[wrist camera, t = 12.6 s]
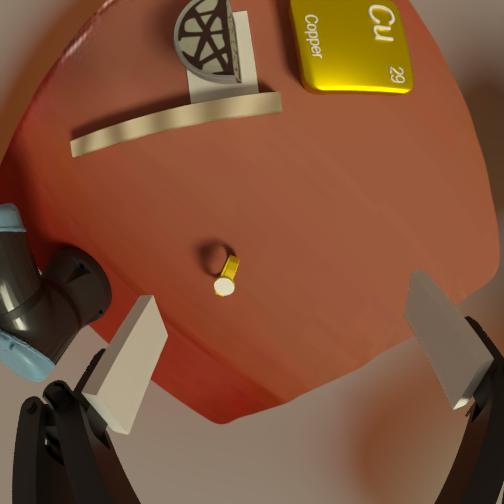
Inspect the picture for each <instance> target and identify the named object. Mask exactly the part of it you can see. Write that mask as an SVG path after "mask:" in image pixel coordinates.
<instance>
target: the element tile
mask: <svg viewBox="0 0 504 504" xmlns="http://www.w3.org/2000/svg"><path fill="white" fill-rule="evenodd" d="M288 13H289V19H290V24H291V29H292V34H293V39H294V45H295V50H296V56H297V62H298V68H299V75H300V81H301V84H302V86H303V87H304V89H305V90H306V91H308V92H309V93H312V94H317V95H326V94H360V95H384V96H396V95H401V94H406V93H409V92H410V91H411V90H412V89H413V86H414V76H413V70H412V64H411V59H410V54H409V49H408V44H407V40H406V35H405V31H404V27H403V24H402V20H401V16H400V13H399V10H398V8H397V7H396V5H395V4H394V3H393V2H391V1H390V0H290V5H289V10H288Z"/></svg>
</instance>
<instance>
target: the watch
mask: <svg viewBox="0 0 504 504" xmlns="http://www.w3.org/2000/svg"><path fill="white" fill-rule="evenodd" d="M238 264H239V258H237V257H235V256H233V255H230V256H229V258H228V260H227V262H226V264H225V266H224V269H223V271H222V273H221V275H220V277H218V278H217V279H216V280H215V283H214V289H215V294H218V295H220V296H225V295H229V294H231V293H232V292H233V290H234V287H235V284H234V281H233V278H234V275H235V273H236V270H237V267H238Z"/></svg>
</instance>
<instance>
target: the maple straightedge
mask: <svg viewBox="0 0 504 504" xmlns="http://www.w3.org/2000/svg"><path fill="white" fill-rule="evenodd" d="M281 112H282V104H281V96H280V92H269V93H259V94H251V95H243V96H236V97H229V98H223V99H217V100H211V101H206V102H200V103H195V104H191V105H186V106H181V107H177V108H173V109H169V110H164V111H161V112H157V113H153V114H149V115H146V116H142V117H139V118H135V119H132V120H129V121H125V122H122V123H119V124H116V125H113V126H110V127H107V128H104V129H101V130H99V131H96V132H93V133H91V134H88V135H85V136H83V137H80V138H78V139H75V140H73V141H70V144H71V150H72V155H73V157H76V156H80V155H84V154H88V153H90V152H93V151H96V150H99V149H102V148H106V147H109V146H112V145H115V144H119V143H122V142H125V141H129V140H132V139H136V138H140V137H143V136H147V135H151V134H155V133H159V132H164V131H168V130H172V129H177V128H182V127H186V126H191V125H197V124H202V123H207V122H213V121H219V120H226V119H232V118H239V117H247V116H255V115H264V114H274V113H281Z"/></svg>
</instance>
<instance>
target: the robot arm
mask: <svg viewBox="0 0 504 504" xmlns="http://www.w3.org/2000/svg"><path fill="white" fill-rule="evenodd" d="M111 299H112V293H111V287H110V284H109V281H108V279H107V276H106V275H105V273H104V271H103V270H102V268H101V267H100V266H99V264H98V263H97V262H96V261H95V260H94V259H93V258H92V257H91V256H89V255H88V254H87V253H85V252H83V251H81V250H79V249H76V248H71V247H68V248H63V249H61V250H59V251H58V252H57V253H55V254H54V255H53V256H52V257H51V258H50V259H49V261H48V263H47V265H46V266H45V268H44V270H43V272H42V274H41V276H40V273H39V270H38V268H37V265H36V262H35V260H34V257H33V254H32V251H31V248H30V244H29V241H28V238H27V234H26V228H24V225H23V222H22V219H21V216H20V213H19V210H18V208H17V207H16V206H15V205H14V204H12V203H5V204H2V205H0V360H1V361H2V362H3V363H4V364H6V366H8V367H9V368H10V369H11V370H12V371H14V372H15V373H17V374H18V375H20V376H21V377H23V378H25V379H27V380H29V381H32V382H41V381H43V380H44V379H45V378H46V377H47V375H48V374H49V373H50V372H51V370H52V369H54V368H55V365H56V364H57V362H58V361H59V359H60V358H61V356H62V355H63V354H64V352H65V351H66V349H67V348H68V346H69V345H70V343H71V342H72V341H73V339H74V338H75V336H76V335H77V334H78V332H79V331H80V330H81V328H83V327H85V326H87V325H89V324H91V323H92V322H94V321H96V320H98V319H99V318H101V317H102V316H103V315H104V313H105V312H106V311H107V309H108V308H109V306H110V304H111ZM404 317H405V318H406V320H407V322H408V323H409V325H410V327H411V329H412V330H413V332H414V334H415V336H416V337H417V339H418V341H419V343H420V345H421V346H422V348H423V350H424V352H425V353H426V356H427V357H428V360H429V361H430V363H431V365H432V367H433V369H434V371H435V373H436V375H437V377H438V379H439V381H440V383H441V385H442V387H443V389H444V392H445V394H446V396H447V398H448V400H449V402H450V405H451V407H452V409H456V408H458V407H461V406H463V405H466V404H467V403H468V401H469V400H470V398H471V397H472V395H473V397H474V399H475V402H474V404H473V405H472V406H471V408H470V409H469V411H468V412H467V414H466V415H465V416H466V417H467V416H468V415H469V414H470V417H469V420H468V423H467V427H466V430H465V433H464V436H463V439H462V442H461V445H460V448H459V450H458V453H457V456H456V458H455V461H454V463H453V466H452V468H451V470H450V473H449V475H448V477H447V480H446V482H445V484H444V486H443V488H442V490H441V492H440V494H439V496H438V498H437V500H436V502H435V504H496V502H497V499H498V496H499V493H500V491H501V488H502V485H503V481H504V358H503V356H502V355H501V353H500V352H499V351H498V349H497V348H496V346H495V345H494V344H493V342H492V341H491V339H490V338H489V337H487V334H486V333H485V331H483V329H482V328H481V326H480V325H479V324H478V322H476V321H475V320H473V319H472V318H471V317H469V316H467V317H463V316H462V314H461V313H460V312H459V310H458V309H457V308H456V307H455V305H454V304H453V303H452V302H451V300H450V299H449V298H448V297H447V296H446V294H445V293H444V292H443V291H442V290H441V288H440V287H439V286H438V285H437V284H436V283H435V282H434V280H433V279H432V278H431V277H430V276H429V275H428V274H427V273H426V271H425V270H418V271H412V272H411V279H410V285H409V291H408V296H407V301H406V306H405V311H404ZM167 337H168V334H167V332H166V329H165V327H164V324H163V321H162V319H161V316H160V313H159V311H158V308H157V305H156V302H155V299H154V296H153V295H145V296H140V297H139V299H138V300H137V302H136V303H135V305H134V306H133V308H132V309H131V311H130V312H129V314H128V315H127V317H126V318H125V320H124V322H123V323H122V325H121V326H120V328H119V329H118V331H117V333H116V334H115V336H114V337H113V339H112V341H111V342H110V344H109V346H108V347H107V349H101V350H100V351H99V352H98V353H97V354H96V355H95V356H94V357H93V359H92V360H91V362H90V365H88V367H87V369H86V371H85V372H84V374H83V375H82V377H81V379H80V380H79V382H78V384H77V386H76V387H75V389H74V391H72V390H71V389H70V387H69V386H68V385H67V384H66V382H64V381H61V380H57V381H54V382H52V383H50V384H49V385H48V386H47V387H46V388H45V390H44V392H43V398H44V399H45V401H46V402H47V403H48V404H44V403H43V402H42V401H41V400H40V398H38V397H36V396H32V397H29V398H28V399H26V400H25V402H24V403H23V404H22V407H21V410H20V416H19V421H18V427H17V434H16V442H15V452H14V462H13V480H12V504H141V503H140V501H139V499H138V498H137V496H136V494H135V492H134V490H133V488H132V486H131V484H130V482H129V480H128V478H127V476H126V474H125V472H124V470H123V468H122V465H121V463H120V461H119V459H118V457H117V454H116V452H115V449H114V447H113V445H112V442H111V440H110V437H109V435H108V433H107V431H106V430H105V429H106V427H107V425H109V426H110V427H111V429H113V431H115V432H119V433H123V434H128V435H129V432H130V430H131V427H132V424H133V422H134V419H135V416H136V414H137V411H138V408H139V406H140V403H141V401H142V398H143V396H144V393H145V391H146V388H147V386H148V383H149V381H150V378H151V376H152V373H153V371H154V368H155V366H156V363H157V361H158V359H159V356H160V354H161V351H162V349H163V347H164V344H165V342H166V339H167ZM470 412H471V413H470ZM45 439H46V440H47V445H45ZM502 504H504V492H503V499H502Z"/></svg>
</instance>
